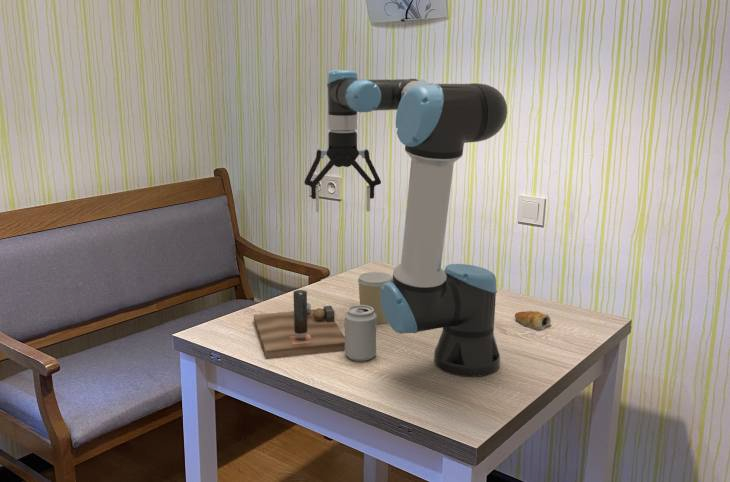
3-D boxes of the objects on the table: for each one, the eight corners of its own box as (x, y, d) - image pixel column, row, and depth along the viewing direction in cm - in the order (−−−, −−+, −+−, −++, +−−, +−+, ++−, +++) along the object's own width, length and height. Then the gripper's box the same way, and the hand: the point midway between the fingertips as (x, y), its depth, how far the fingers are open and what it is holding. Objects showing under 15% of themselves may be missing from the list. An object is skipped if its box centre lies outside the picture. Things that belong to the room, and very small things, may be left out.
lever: (295, 309, 193) (295, 267, 189) (310, 309, 193) (310, 267, 190) (292, 341, 172) (291, 294, 169) (309, 341, 172) (308, 294, 169)
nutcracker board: (348, 350, 173) (348, 330, 171) (265, 358, 168) (265, 338, 166) (327, 315, 195) (326, 297, 194) (253, 322, 190) (253, 303, 188)
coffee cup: (393, 313, 197) (394, 272, 193) (391, 326, 188) (391, 283, 184) (359, 312, 197) (360, 271, 194) (356, 324, 188) (356, 281, 185)
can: (381, 353, 171) (382, 306, 168) (366, 365, 164) (366, 316, 161) (355, 347, 174) (355, 301, 171) (338, 358, 168) (338, 310, 165)
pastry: (508, 322, 191) (509, 309, 190) (523, 316, 196) (524, 303, 195) (539, 332, 185) (540, 318, 184) (553, 325, 190) (554, 312, 189)
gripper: (389, 129, 189) (387, 207, 195) (295, 129, 188) (296, 207, 193) (391, 132, 182) (390, 213, 188) (294, 132, 181) (295, 214, 186)
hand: (342, 210), depth 191 cm, fingers open, 13 cm apart
